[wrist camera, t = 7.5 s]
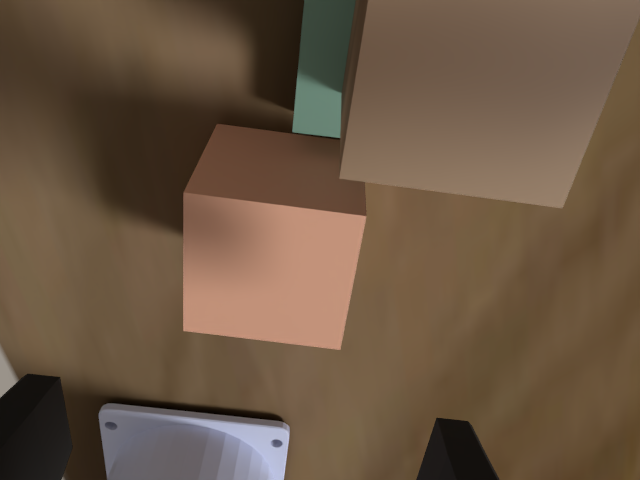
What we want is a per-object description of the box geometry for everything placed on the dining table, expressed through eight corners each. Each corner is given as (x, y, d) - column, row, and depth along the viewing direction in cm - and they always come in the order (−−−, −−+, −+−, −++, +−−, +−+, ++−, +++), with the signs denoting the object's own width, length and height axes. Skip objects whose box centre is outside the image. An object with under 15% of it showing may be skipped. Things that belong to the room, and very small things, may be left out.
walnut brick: (506, 116, 16) (562, 207, 12) (341, 93, 16) (338, 178, 12) (564, -70, 14) (661, -36, 9) (370, -99, 13) (380, -78, 9)
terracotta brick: (341, 260, 21) (340, 349, 17) (213, 244, 21) (183, 330, 17) (362, 142, 18) (366, 215, 15) (217, 122, 18) (182, 192, 14)
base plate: (525, 140, 18) (539, 161, 17) (296, 112, 18) (292, 132, 17) (613, -130, 14) (639, -129, 13) (322, -170, 14) (320, -172, 13)
